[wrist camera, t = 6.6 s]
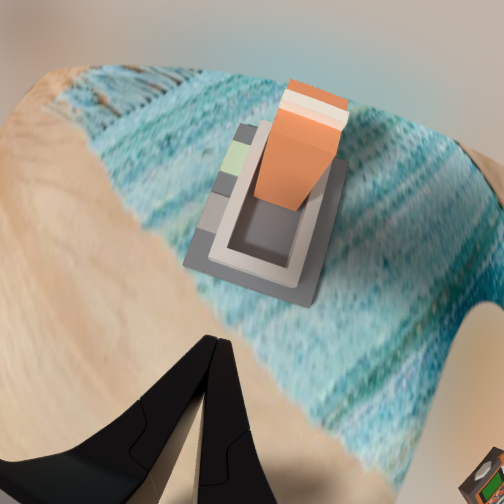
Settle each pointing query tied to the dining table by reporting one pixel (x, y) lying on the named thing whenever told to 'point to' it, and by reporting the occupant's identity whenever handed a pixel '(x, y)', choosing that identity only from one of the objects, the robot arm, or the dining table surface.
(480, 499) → the electronic device
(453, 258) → the dining table surface
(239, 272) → the grey framed base plate
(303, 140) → the orange juice carton
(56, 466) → the robot arm
